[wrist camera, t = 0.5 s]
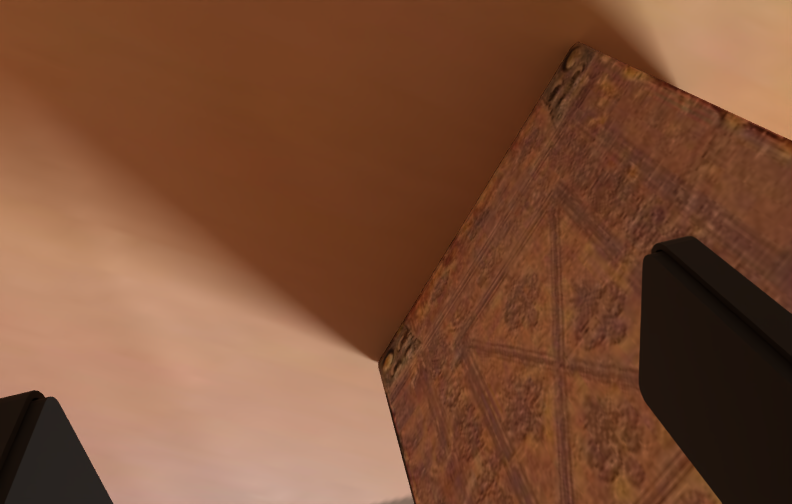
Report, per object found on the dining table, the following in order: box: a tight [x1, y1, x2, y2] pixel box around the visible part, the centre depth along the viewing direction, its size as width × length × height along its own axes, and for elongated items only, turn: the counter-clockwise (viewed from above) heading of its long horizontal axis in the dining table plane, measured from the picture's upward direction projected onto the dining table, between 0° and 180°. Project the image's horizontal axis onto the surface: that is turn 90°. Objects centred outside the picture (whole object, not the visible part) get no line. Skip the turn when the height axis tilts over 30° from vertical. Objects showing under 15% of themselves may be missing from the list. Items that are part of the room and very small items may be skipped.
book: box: [378, 42, 792, 504], centre depth 32 cm, size 25×9×30 cm, turn 150°
